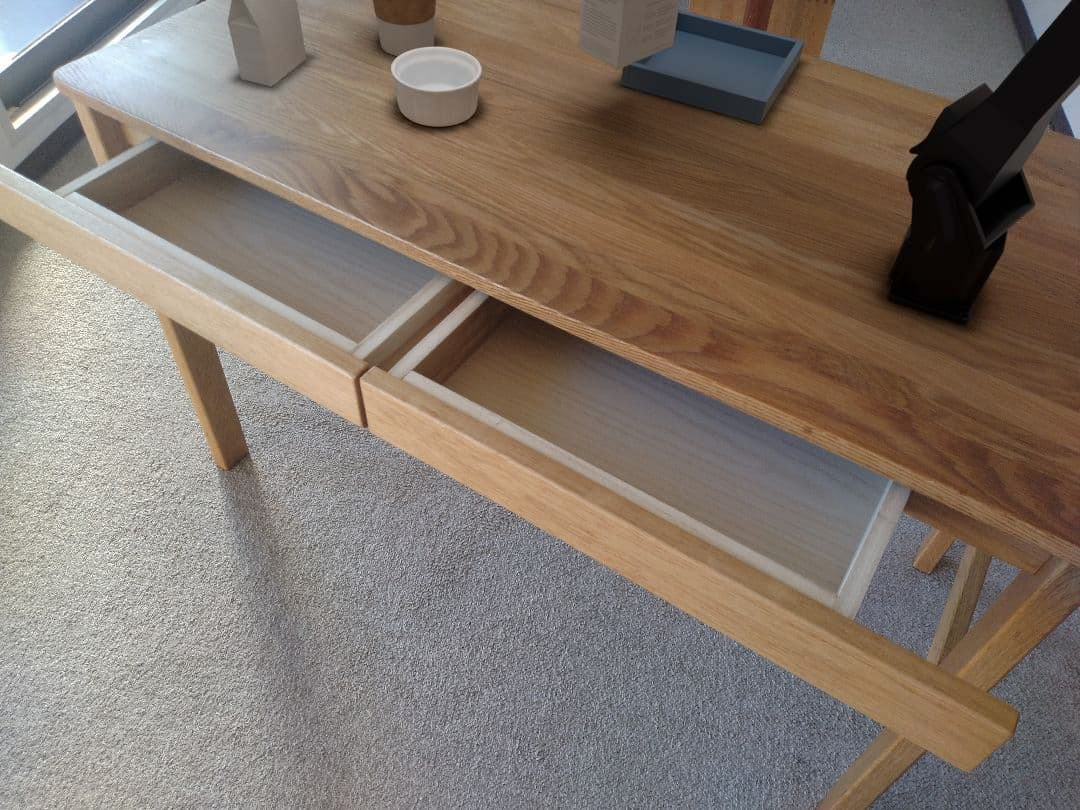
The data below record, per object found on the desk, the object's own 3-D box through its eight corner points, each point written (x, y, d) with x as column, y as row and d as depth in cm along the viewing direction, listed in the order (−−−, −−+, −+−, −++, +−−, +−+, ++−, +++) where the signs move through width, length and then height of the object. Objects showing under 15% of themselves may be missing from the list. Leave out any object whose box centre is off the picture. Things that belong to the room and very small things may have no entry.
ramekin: (489, 91, 88) (489, 51, 85) (472, 136, 82) (471, 94, 79) (406, 82, 88) (403, 41, 85) (384, 125, 82) (379, 83, 79)
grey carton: (306, 58, 91) (290, -39, 83) (271, 86, 86) (250, -14, 79) (277, 51, 91) (258, -46, 84) (240, 78, 87) (217, -21, 80)
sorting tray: (798, 62, 95) (805, 41, 94) (760, 124, 86) (766, 102, 84) (670, 29, 100) (674, 8, 98) (620, 85, 90) (623, 62, 88)
